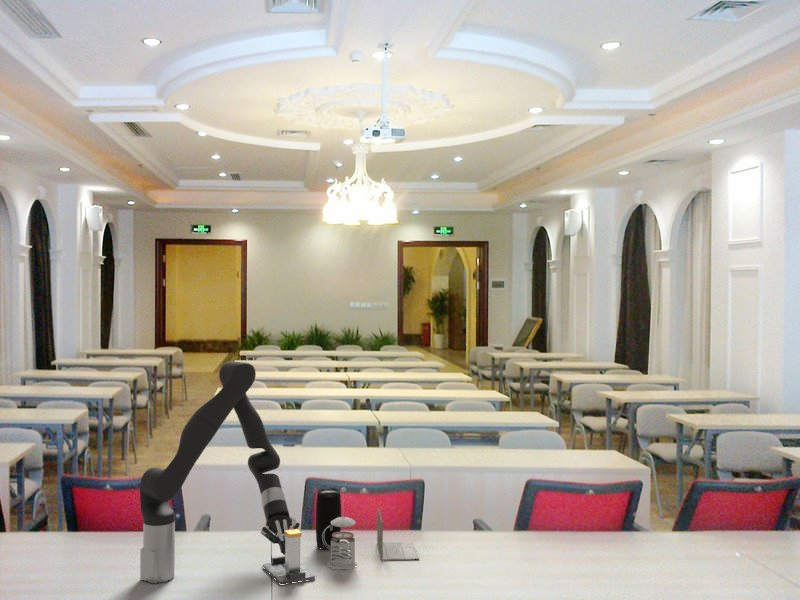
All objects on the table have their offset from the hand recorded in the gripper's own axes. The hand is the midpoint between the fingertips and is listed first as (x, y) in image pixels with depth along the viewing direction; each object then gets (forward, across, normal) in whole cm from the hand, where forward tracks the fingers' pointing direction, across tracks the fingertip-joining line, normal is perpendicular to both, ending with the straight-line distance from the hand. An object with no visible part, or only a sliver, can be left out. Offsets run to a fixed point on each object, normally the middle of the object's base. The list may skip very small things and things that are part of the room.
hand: (286, 553), depth 260 cm
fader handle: (+7, 0, -1) cm, 7 cm away
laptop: (+2, +40, +7) cm, 41 cm away
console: (+5, 0, +3) cm, 6 cm away
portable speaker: (-8, +21, +17) cm, 28 cm away
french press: (+5, +18, +4) cm, 19 cm away
